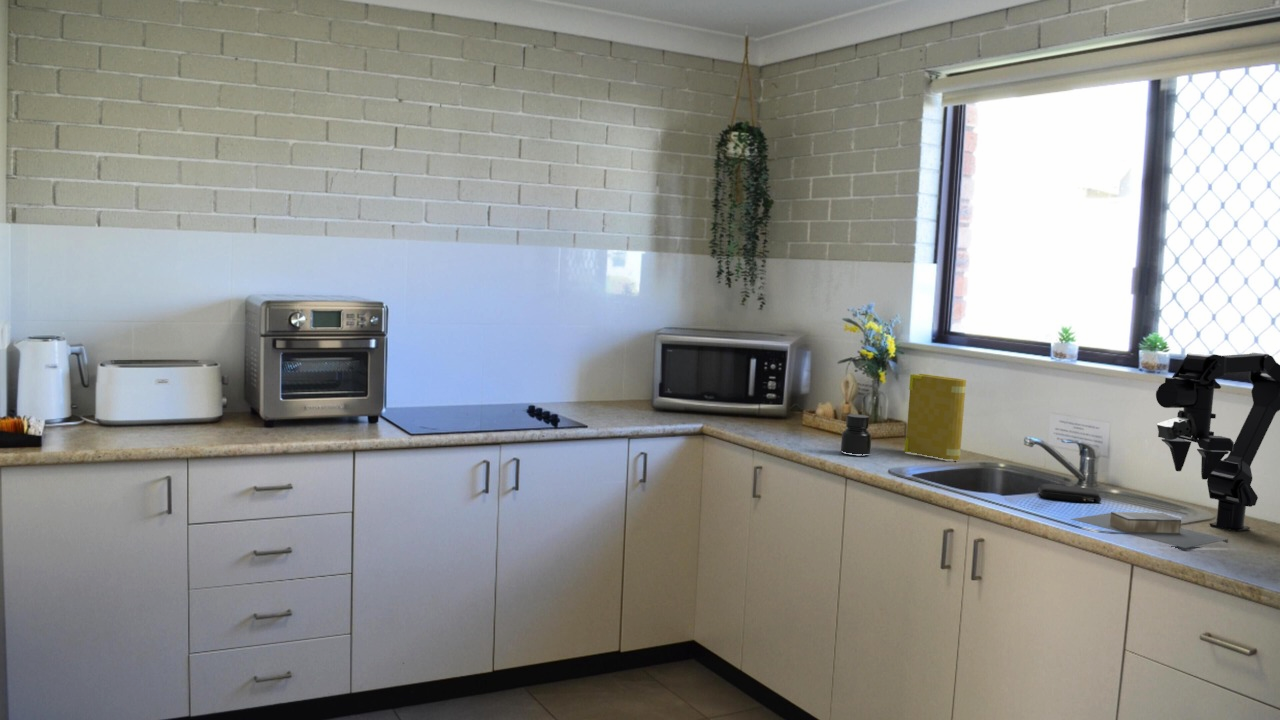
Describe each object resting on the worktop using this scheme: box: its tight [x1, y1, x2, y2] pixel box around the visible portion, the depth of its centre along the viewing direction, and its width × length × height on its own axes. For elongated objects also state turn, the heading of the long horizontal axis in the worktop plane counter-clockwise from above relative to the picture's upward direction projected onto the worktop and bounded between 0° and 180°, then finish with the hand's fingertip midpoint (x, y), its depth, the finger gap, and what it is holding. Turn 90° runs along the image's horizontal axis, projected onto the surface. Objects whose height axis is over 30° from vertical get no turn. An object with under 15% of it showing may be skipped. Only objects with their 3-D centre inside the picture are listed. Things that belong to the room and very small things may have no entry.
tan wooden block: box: [1110, 511, 1182, 533], centre depth 238 cm, size 3×6×13 cm
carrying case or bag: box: [1038, 483, 1102, 505], centre depth 271 cm, size 11×3×15 cm
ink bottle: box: [840, 413, 872, 455], centre depth 322 cm, size 10×9×12 cm
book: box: [903, 373, 967, 460], centre depth 324 cm, size 17×7×25 cm, turn 42°
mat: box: [1070, 512, 1229, 552], centre depth 238 cm, size 18×27×1 cm, turn 34°
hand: (1191, 475), depth 240 cm, fingers open, 9 cm apart
